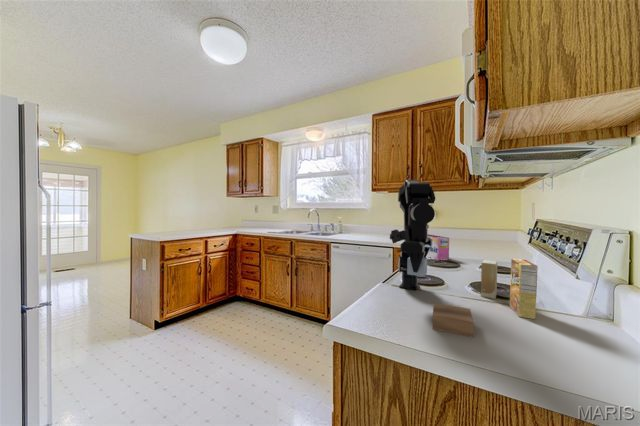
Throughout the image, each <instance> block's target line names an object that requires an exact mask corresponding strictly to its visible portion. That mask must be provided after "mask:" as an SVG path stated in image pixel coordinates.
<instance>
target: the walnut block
mask: <svg viewBox="0 0 640 426" xmlns="http://www.w3.org/2000/svg"><path fill="white" fill-rule="evenodd" d="M474 324H475V322H474V318H473V315H472V311H471V308H468V307H461V306H456V305H447V304H441V303H437V302H436V303H435V302H434V303H433V309H432V330H434V331H441V332H445V333H451V334H454V335H460V336H466V337H470V338H474Z"/></svg>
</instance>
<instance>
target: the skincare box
mask: <svg viewBox="0 0 640 426" xmlns="http://www.w3.org/2000/svg"><path fill="white" fill-rule="evenodd" d="M480 270H481V273H480V274H481V275H480V276H481V278H480V279H481V280H480V297H483V298H489V299H494V300H496V297H497V287H498V286H497V285H498V260H489V259H482V261H481V269H480Z"/></svg>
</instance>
